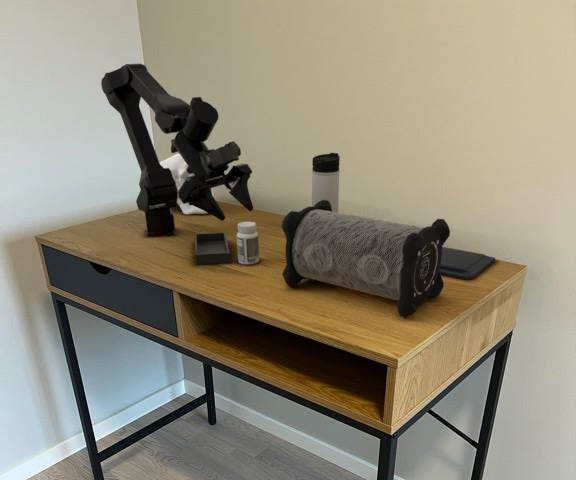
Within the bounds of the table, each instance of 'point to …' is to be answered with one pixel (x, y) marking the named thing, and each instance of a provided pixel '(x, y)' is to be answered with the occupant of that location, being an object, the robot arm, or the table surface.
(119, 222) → the table surface
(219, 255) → the pen tray
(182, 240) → the table surface
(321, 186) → the travel mug
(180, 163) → the white skull model
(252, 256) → the pill bottle
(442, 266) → the wallet
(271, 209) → the table surface
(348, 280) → the speaker
